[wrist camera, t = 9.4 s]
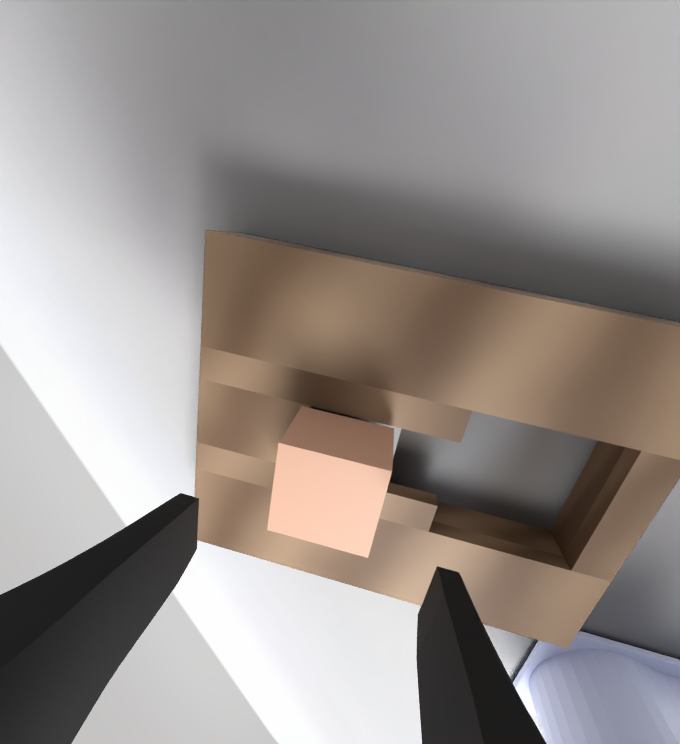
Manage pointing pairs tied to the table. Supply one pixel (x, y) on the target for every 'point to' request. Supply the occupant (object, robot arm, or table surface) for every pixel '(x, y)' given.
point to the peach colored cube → (332, 479)
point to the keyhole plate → (440, 424)
